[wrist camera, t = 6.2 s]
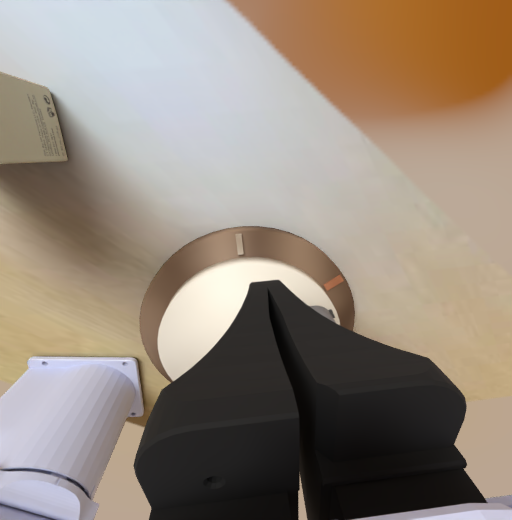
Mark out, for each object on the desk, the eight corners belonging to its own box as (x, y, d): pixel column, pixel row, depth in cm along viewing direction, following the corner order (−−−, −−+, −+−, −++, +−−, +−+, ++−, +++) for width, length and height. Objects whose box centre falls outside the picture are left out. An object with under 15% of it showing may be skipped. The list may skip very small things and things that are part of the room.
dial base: (153, 395, 26) (148, 408, 24) (133, 218, 18) (125, 223, 17) (326, 394, 28) (331, 406, 26) (372, 233, 20) (382, 239, 19)
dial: (218, 413, 25) (214, 472, 21) (125, 307, 20) (90, 355, 15) (354, 357, 24) (383, 407, 19) (295, 223, 18) (316, 247, 13)
